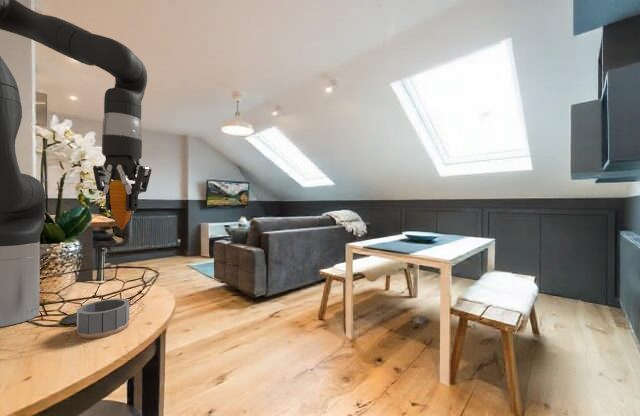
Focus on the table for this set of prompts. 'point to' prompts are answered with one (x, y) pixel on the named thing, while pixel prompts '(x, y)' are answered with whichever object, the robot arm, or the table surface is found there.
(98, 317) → the cup
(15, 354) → the table surface
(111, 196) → the carrot
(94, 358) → the table surface
